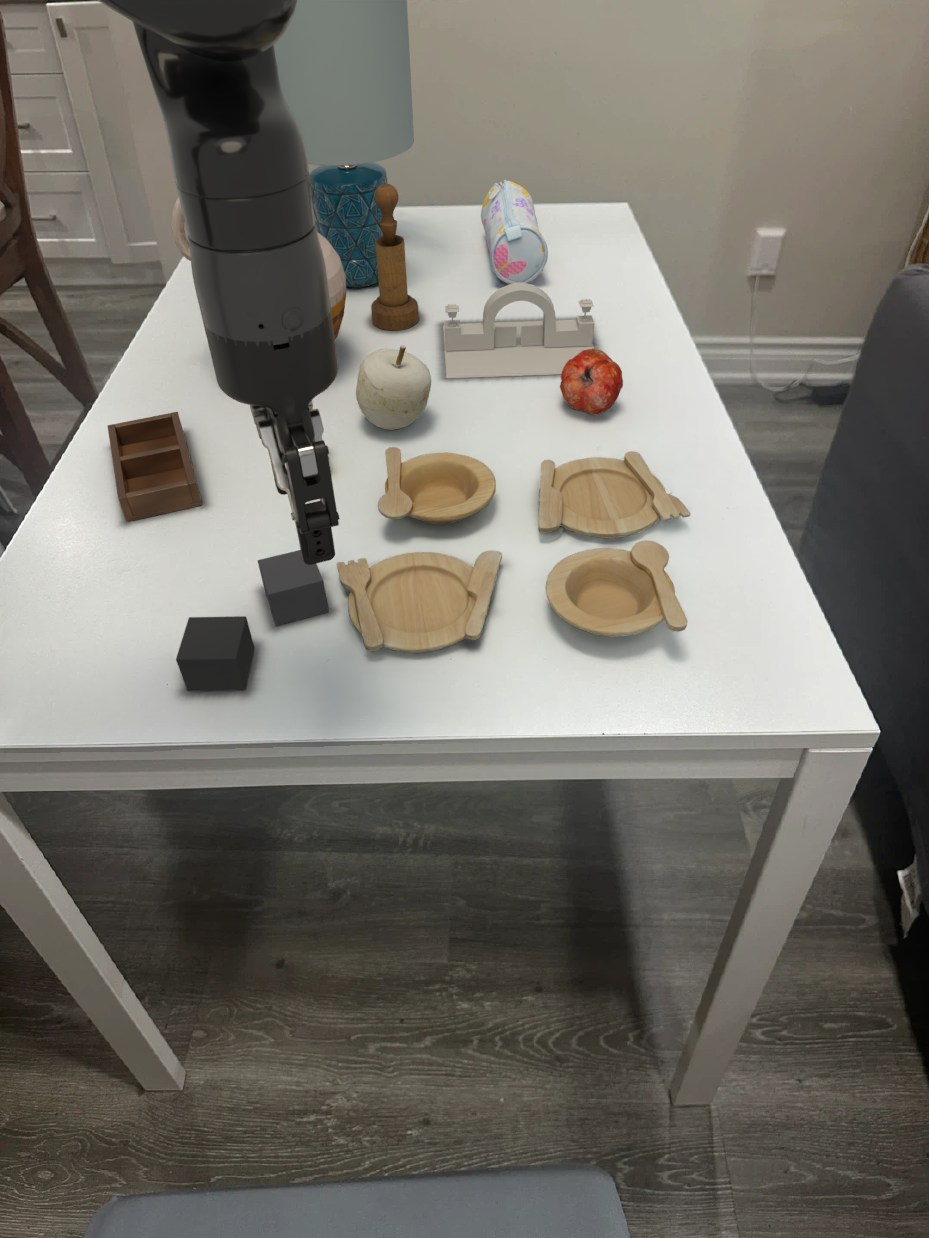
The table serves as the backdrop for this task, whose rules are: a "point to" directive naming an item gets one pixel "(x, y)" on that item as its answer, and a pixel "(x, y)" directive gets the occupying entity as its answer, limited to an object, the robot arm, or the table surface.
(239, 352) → the robot arm
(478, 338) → the gateway
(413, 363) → the decorative object
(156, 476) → the back frame
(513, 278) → the pencil case
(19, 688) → the table surface
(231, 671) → the pad left
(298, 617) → the pad right
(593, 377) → the pomegranate
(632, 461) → the tableware set
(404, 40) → the lamp
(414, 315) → the mortar and pestle
